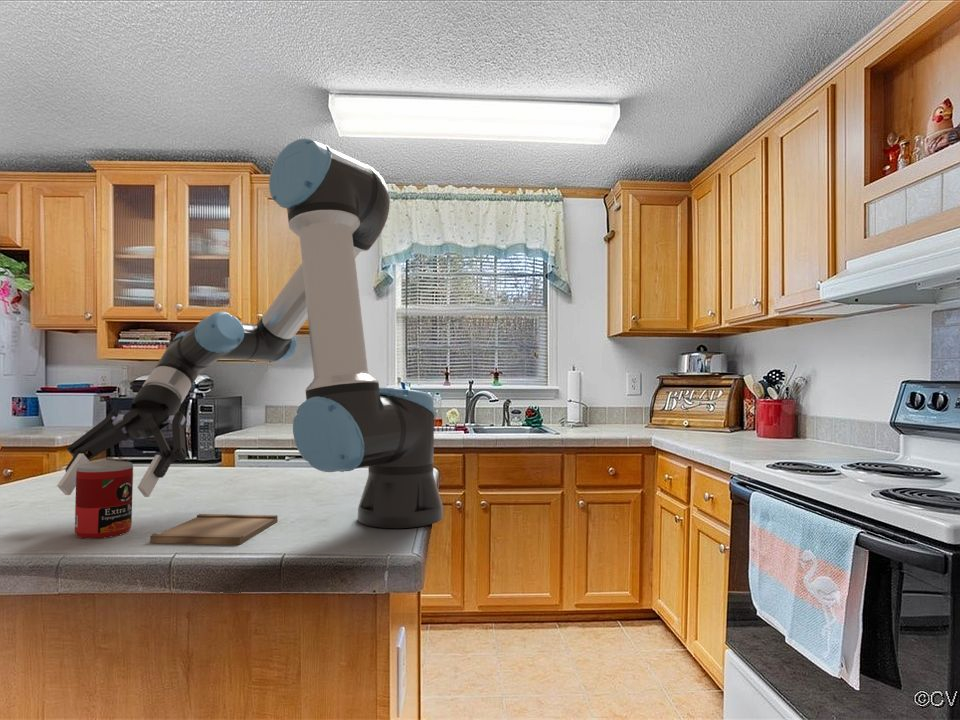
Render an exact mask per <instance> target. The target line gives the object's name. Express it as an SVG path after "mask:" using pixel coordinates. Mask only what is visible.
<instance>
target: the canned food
mask: <svg viewBox="0 0 960 720" xmlns="http://www.w3.org/2000/svg"><path fill="white" fill-rule="evenodd" d="M133 465H134V464H133V462H131V461H122V460H121V461H120V460H119V461H118V460H116V461H115V460H114V461H113V460H111V461H99V462H96V461H95V462H91V463H87V464H82V465H79V466H77V470H76V487H75V502H74V503H75V506H74V509H75V511H74V533H75V535H76V537H77V538H79V537H80V539H84V538H90V539H89V540H92V539H91V538H98V539H105V538H104V537H108V538H111V537H110V536H113V537H117V536H116V535H118V536H120V534H122V535H124V534H126V532H127V533H128V532H129V531H130V530H131V527H132V522H133V521H132V520H133V517H132V515H133V487H134V486H133V484H134V483H133V482H134V466H133ZM123 533H124V534H123Z"/></svg>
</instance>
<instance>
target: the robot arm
mask: <svg viewBox="0 0 960 720" xmlns="http://www.w3.org/2000/svg"><path fill="white" fill-rule="evenodd" d="M268 188H269V189H268V190H269V193H270V196H271V198H272V200H273V201H274V202H275V203H276V204H277V205H278V206H279V207H280V208H282V209H286V212H287V213H286V214H287V220H288V221H287V222H288V228H289V230H291V232H292V233H294V234H295V235H296V236H298V237H299V244H300V245H299V246H300V253H301V263H300V265H299V266H298V267H297V269H296V270H295V271H294V273H293V274H292V276H291V277H290V279H289V280H288V281H287V283H286V284H285V285H284V286H283V288H282V290H281V291H279V294H278V295H277V296H276V298H275V299H274V300H273V301H272V303H271V305H270V306H269V307H268V309H267V310H266V311H265V312H264V314H263V315H262V316H261V317H260V319H259V321H258V322H257V323H255V324H253V323H242V322H241V321H240V320H239V318H238V317H236V316H235V315H231V314H230V312H227V311H215V312H213V313H211V314H210V315H209V316H208V317H204V318H203V319H202V320H200V321H199V322H198V323H197V324H196V325H195V326H194V327H193V328H192V329H190V330H188V331H181V332H178V333H177V335H176V336H175V337H174V338H173V340H172V341H170V342H168V343H169V344H168V345H167V348H166V349H165V351H164V353H163V354H162V356H161V357H160V358H159V360H158V361H157V364H156V365H155V367H154V368H153V370H152V371H151V372H150V373H149V375H148V376H147V378H146V380H145V381H144V383H143V384H142V387H140V389H139V390H138V392H137V394H136V395H135V396H134V398H133V399H132V403H131V407H130V410H128V412H126V413H125V414H122V413H118V412H117V411H116V410H111V411H110V412H109V413H108V414H107V415H106V417H105V418H104V419H103V420H101V421H100V422H99V423H97V424H96V425H94V426H93V427H92V428H91V429H89V430H88V431H87V432H86V433H84V434H83V435H81V437H79V438H78V439H76V440H75V441H74V442H72V443H71V444H69V445H68V446H67V447H66V450H67V452H68V453H69V454H70V455H71V456H72V459H71V460H70V461H69V463H68V464H67V465H66V466H65V473H64V475H63V476H62V478H61V479H59V480H60V481H59V482H58V483H57V485H56V487H57V488H58V489H59V490H60V491H61V492H62V493H63V494H64V495H65V496H71V495H72V493H73V492H74V490H75V489H76V470H77V466H79V465H82V464H87V463H92V462H91V461H90V460H92V459H93V458H95V457H97V456H98V455H100V454H101V453H103V452H105V451H107V450H108V449H110V448H112V447H114V446H115V445H117V444H118V443H120V442H123V441H128V440H129V439H131V438H133V439H138V438H144V439H150V437H152V436H153V438H154V440H155V443H156V445H157V447H158V449H159V452H160V453H161V454H155V455H154V457H153V459H152V461H151V463H150V464H149V465H148V468H147V470H146V471H145V473H144V475H143V477H142V479H141V480H140V482H139V484H138V485H137V487H136V488H137V489H138V490H139V491H140V493H141V494H142V495H143V496H144V498H149V497H150V496H151V494H152V492H153V491H154V489H155V487H156V485H157V483H158V481H159V479H161V478H162V479H163V478H164V477H165V475H166V474H167V472H168V470H169V468H170V466H171V465H172V464H174V462H175V461H178V460H179V461H182V462H183V461H184V460H186V459H187V449H186V437H185V428H186V426H187V423H188V420H187V418H186V416H185V415H184V413H183V412H182V411H179V410H180V408H181V406H182V405H181V404H182V403H183V402H184V400H185V399H186V397H187V395H188V394H189V392H190V390H191V388H192V386H193V385H194V383H195V382H196V379H197V378H198V377H199V375H200V374H201V373H202V371H204V370H206V369H207V368H208V367H210V366H211V365H213V364H215V362H217V361H218V360H231V361H233V360H238V361H259V362H260V361H261V362H262V361H263V362H273V363H274V362H279V361H280V362H281V361H287V360H289V359H291V358H292V357H293V356H294V354H295V352H296V350H295V349H296V347H297V343H298V342H297V338H296V334H297V333H298V331H300V329H301V328H302V327H303V326H304V324H305V323H306V321H307V322H308V331H309V341H310V349H311V350H310V351H311V352H310V353H311V360H312V372H313V379H312V381H311V382H310V383H309V385H308V386H307V387H306V388H305V401H304V402H302V403H301V404H300V405H299V406H298V407H297V409H296V415H295V416H293V423H292V433H293V435H292V436H293V440H294V442H295V446H296V449H297V450H298V453H299V454H300V456H301V457H302V458H303V460H304V461H306V462H308V464H309V465H310V467H312V468H314V469H315V470H317V471H320V472H323V473H336V472H339V473H341V472H342V473H345V472H351V471H354V470H356V469H361V468H367V467H368V474H367V475H368V476H367V479H366V482H365V486H364V488H363V491H362V495H361V498H360V501H359V504H358V506H357V520H358V522H359V523H360V524H363V525H365V526H369V527H374V528H382V529H407V528H409V529H410V528H411V529H412V528H418V527H425V526H430V525H433V524H436V523H438V522H440V521H441V520H443V516H444V514H443V513H444V508H443V507H444V505H443V502H442V499H441V496H440V495H441V494H440V493H439V489H438V486H437V483H436V479H435V475H434V452H435V451H434V450H435V449H434V445H435V444H434V442H435V440H434V439H435V432H434V431H435V417H436V412H435V409H434V408H435V406H434V398H433V397H432V395H431V394H430V393H428V392H425V391H422V390H417V389H416V390H415V389H407V388H406V389H404V388H400V387H399V388H398V387H380V383H379V380H377V379H376V378H375V377H373V376H372V375H371V374H370V373H369V370H368V361H367V353H366V352H367V351H366V345H365V344H366V343H365V336H364V325H363V317H362V308H361V299H360V289H359V283H358V282H359V281H358V275H357V274H358V272H357V265H356V263H357V262H356V258H357V256H358V255H359V254H360V253H362V252H368V251H369V250H370V249H371V247H372V246H373V245H374V244H375V243H376V241H377V240H378V239H379V237H380V235H381V234H382V232H383V230H384V228H385V226H386V222H387V220H388V217H389V213H390V203H391V202H390V200H391V199H390V192H389V189H388V186H387V184H386V182H385V180H384V178H383V177H382V175H380V172H378V171H377V170H376V169H374V167H372V166H370V165H369V164H366V163H364V162H361V161H359V160H357V159H355V158H352V157H350V156H348V155H346V154H344V153H342V152H339V151H338V150H335V149H333V148H331V147H330V146H329V145H328V144H326V143H323V142H318V141H315V140H312V139H310V138H299V139H296V140H293V141H292V142H290V143H288V144H287V145H286V146H285V147H284V148H283V149H282V150H281V151H280V152H279V154H278V155H277V157H276V159H275V161H274V162H273V165H272V168H271V170H270V174H269V183H268ZM169 425H171V428H172V429H171V431H172V448H173V450H171V448H170V446H169V444H168V442H167V440H166V437H165V435H164V432H163V430H164V429H166V428H167V427H168V426H169ZM123 428H124V430H125V432H124V431H123Z"/></svg>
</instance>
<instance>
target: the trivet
mask: <svg viewBox="0 0 960 720" xmlns="http://www.w3.org/2000/svg"><path fill="white" fill-rule="evenodd" d="M278 517H279V516H278V515H277V514H276V515H275V514H272V515H271V514H270V515H269V514H267V515H266V514H224V513H223V514H222V513H221V514H219V513H217V514H215V513H198V514H197V515H196V517H194V518H191V519H189V520H187V521H185V522H182V523H180V524H178V525H176V526H173V527H171V528H169V529H166V530H164V531H162V532H160V533H153V534H151V535H150V536H149V543H150V544H184V545H187V544H189V545H191V544H192V543H193V544H192V545H194V544H195V545H227V544H230V545H231V544H232V545H231V546H234V545H239V546H240V545H242V544H243V542H244V543H245V542H247V541H249V540H250V539H252V538H253V537H256V536H257V535H258V534H260V533H262V532H263V531H265V530H266V529H268V528H270V527H271V526H273V525H275V524H276V523H278V519H279V518H278ZM269 526H270V527H269ZM264 529H265V530H264ZM261 531H262V532H261ZM256 534H257V535H256Z"/></svg>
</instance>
